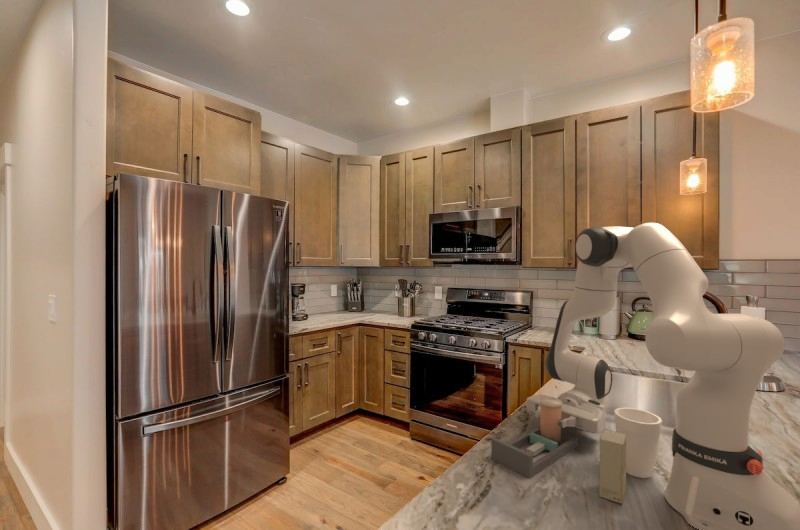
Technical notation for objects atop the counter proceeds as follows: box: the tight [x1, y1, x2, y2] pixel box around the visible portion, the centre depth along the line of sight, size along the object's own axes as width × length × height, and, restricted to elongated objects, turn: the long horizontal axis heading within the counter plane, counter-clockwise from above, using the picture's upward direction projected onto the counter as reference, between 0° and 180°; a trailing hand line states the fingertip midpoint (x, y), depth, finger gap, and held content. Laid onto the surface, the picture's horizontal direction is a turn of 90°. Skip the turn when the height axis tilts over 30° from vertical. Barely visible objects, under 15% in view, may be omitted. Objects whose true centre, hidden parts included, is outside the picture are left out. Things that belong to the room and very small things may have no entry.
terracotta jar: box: [539, 396, 562, 446], centre depth 99 cm, size 5×5×11 cm
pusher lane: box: [490, 425, 579, 479], centre depth 94 cm, size 23×10×5 cm, turn 130°
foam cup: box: [613, 407, 663, 479], centre depth 87 cm, size 10×9×13 cm
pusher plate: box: [525, 432, 559, 457], centre depth 95 cm, size 7×7×2 cm
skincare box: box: [598, 428, 627, 505], centre depth 78 cm, size 6×4×12 cm
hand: (548, 419), depth 98 cm, fingers closed on terracotta jar, 5 cm apart
